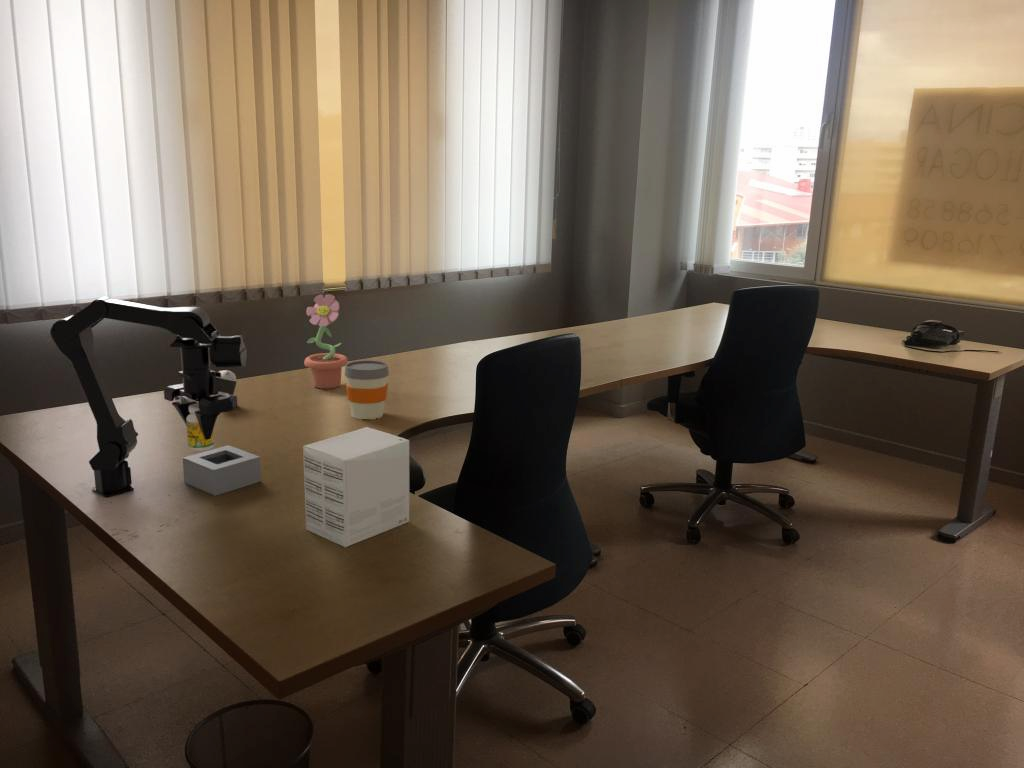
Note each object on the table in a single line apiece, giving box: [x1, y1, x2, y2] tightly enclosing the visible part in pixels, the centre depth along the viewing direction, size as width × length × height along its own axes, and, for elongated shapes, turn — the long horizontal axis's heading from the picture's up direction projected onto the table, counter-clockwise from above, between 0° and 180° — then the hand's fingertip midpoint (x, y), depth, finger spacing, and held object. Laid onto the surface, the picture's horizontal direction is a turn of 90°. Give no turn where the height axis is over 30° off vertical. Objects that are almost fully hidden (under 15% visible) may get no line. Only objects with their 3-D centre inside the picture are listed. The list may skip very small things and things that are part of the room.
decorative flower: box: [304, 293, 349, 390], centre depth 281 cm, size 15×14×30 cm
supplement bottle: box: [186, 403, 215, 452], centre depth 191 cm, size 5×5×10 cm
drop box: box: [182, 444, 262, 497], centre depth 199 cm, size 12×12×6 cm
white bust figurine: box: [216, 369, 238, 408], centre depth 257 cm, size 6×8×11 cm
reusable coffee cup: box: [344, 359, 389, 420], centre depth 253 cm, size 13×13×15 cm
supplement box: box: [302, 426, 410, 548], centre depth 177 cm, size 17×13×18 cm
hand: (200, 436), depth 192 cm, fingers closed on supplement bottle, 5 cm apart
